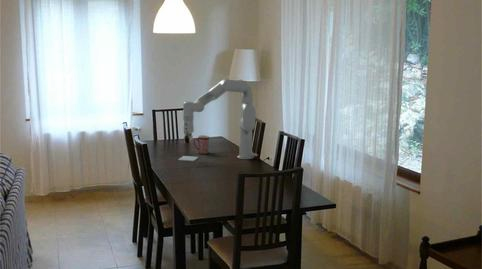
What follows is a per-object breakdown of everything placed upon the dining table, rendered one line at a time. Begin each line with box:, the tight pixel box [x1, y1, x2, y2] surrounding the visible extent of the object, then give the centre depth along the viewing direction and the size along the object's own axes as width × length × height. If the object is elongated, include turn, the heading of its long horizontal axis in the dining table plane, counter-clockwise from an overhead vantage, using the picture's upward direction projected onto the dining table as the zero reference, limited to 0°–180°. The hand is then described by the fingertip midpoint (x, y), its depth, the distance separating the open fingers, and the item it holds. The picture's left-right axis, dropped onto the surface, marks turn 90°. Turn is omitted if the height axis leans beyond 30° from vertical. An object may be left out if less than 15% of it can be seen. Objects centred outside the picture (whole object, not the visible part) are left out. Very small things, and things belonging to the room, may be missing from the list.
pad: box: [177, 155, 199, 162], centre depth 391 cm, size 12×12×1 cm
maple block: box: [183, 135, 194, 144], centre depth 388 cm, size 5×5×5 cm
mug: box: [192, 135, 210, 155], centre depth 411 cm, size 13×9×14 cm
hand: (188, 142), depth 389 cm, fingers closed on maple block, 5 cm apart
